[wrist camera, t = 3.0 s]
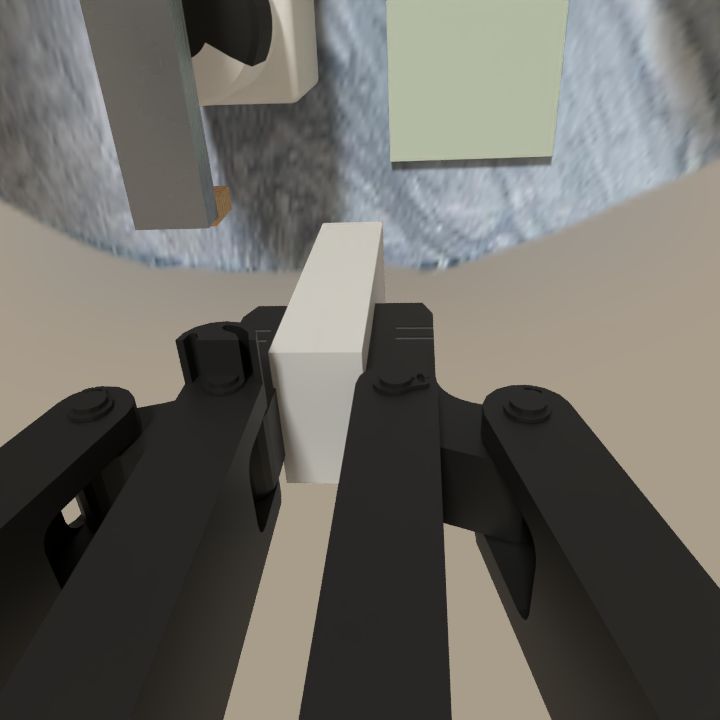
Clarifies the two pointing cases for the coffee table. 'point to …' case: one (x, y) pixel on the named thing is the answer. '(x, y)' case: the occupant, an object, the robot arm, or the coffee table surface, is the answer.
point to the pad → (474, 77)
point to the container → (252, 50)
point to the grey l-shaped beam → (154, 112)
